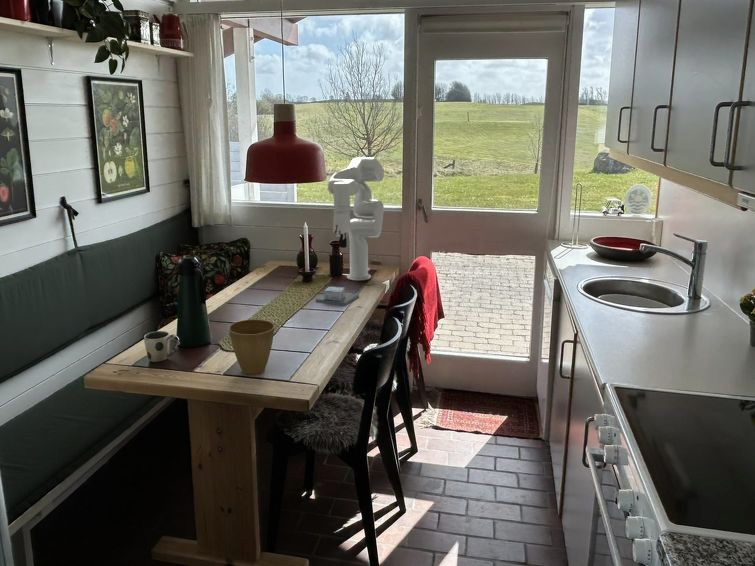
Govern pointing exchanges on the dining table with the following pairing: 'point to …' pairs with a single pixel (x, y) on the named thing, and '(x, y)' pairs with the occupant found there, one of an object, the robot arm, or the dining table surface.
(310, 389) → the dining table surface
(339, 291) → the medicine box
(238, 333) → the plant pot
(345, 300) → the plate
